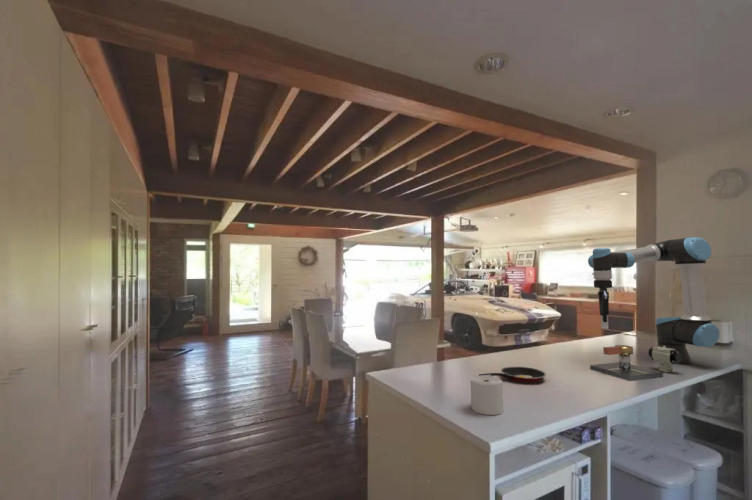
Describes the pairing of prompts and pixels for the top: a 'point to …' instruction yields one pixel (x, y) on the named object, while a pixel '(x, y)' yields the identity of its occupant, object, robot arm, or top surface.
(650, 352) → the pneumatic valve
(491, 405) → the toilet tissue
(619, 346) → the scoop with pink handle
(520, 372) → the frying pan
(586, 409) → the top surface
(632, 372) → the grey plate with post
